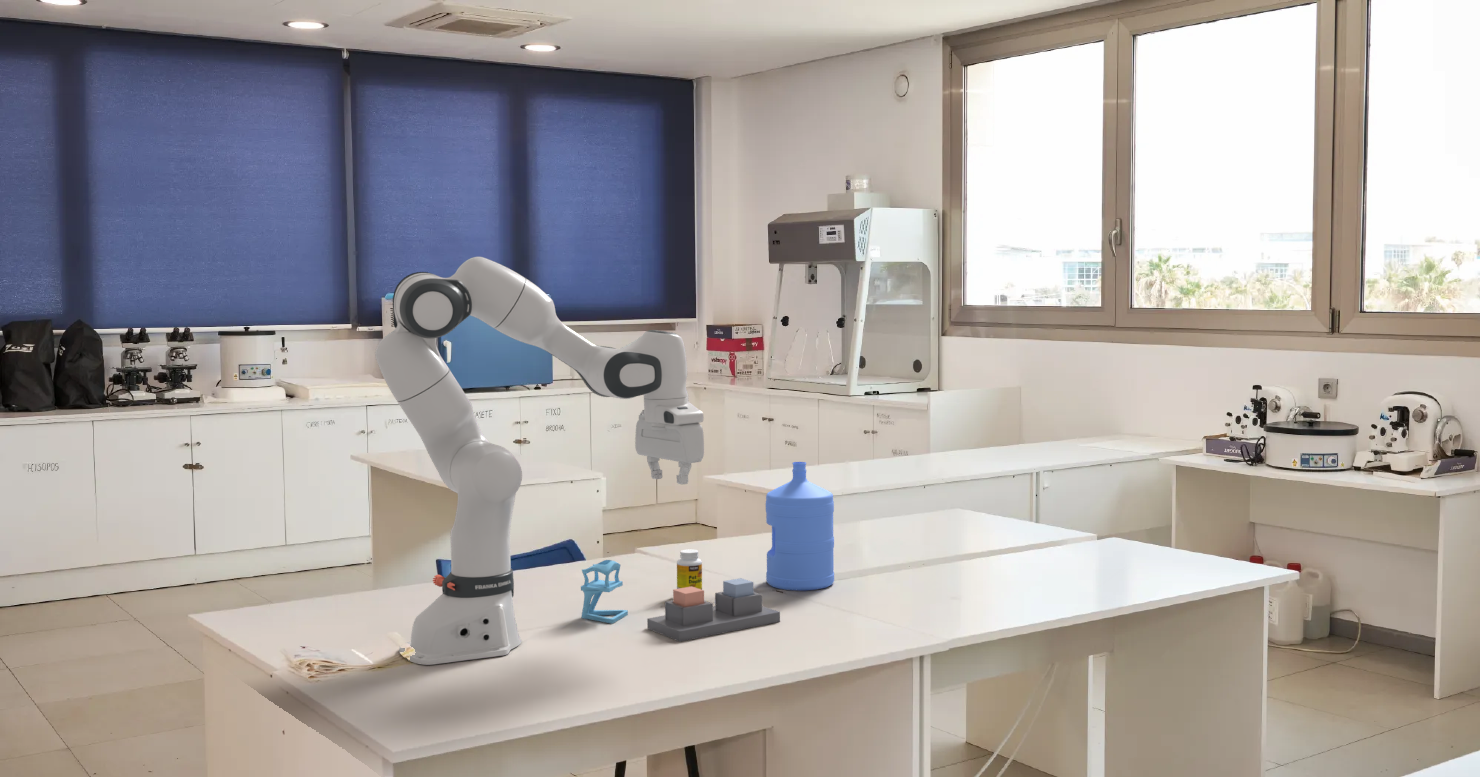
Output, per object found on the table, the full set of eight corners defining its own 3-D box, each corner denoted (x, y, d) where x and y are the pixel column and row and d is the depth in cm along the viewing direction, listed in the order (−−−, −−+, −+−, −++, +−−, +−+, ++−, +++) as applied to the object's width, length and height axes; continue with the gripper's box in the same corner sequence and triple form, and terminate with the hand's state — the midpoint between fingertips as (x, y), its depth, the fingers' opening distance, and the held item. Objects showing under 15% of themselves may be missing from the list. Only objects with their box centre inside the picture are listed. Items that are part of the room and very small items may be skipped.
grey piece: (679, 641, 232) (679, 613, 232) (647, 628, 242) (647, 601, 242) (780, 621, 246) (779, 594, 246) (745, 609, 256) (745, 584, 255)
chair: (592, 612, 256) (591, 555, 255) (628, 614, 253) (627, 557, 252) (575, 621, 249) (574, 563, 248) (612, 623, 246) (611, 565, 245)
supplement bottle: (688, 601, 264) (687, 554, 263) (671, 596, 268) (671, 551, 267) (707, 596, 268) (707, 550, 267) (690, 592, 272) (690, 547, 271)
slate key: (735, 599, 244) (735, 585, 244) (723, 595, 248) (723, 581, 248) (753, 596, 247) (753, 581, 246) (741, 592, 250) (740, 578, 250)
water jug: (846, 580, 282) (845, 460, 280) (813, 594, 269) (812, 468, 267) (787, 573, 290) (786, 456, 288) (753, 586, 277) (752, 464, 275)
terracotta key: (685, 608, 237) (685, 593, 237) (673, 604, 241) (673, 589, 241) (704, 605, 240) (704, 590, 240) (692, 601, 243) (691, 586, 243)
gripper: (626, 410, 247) (629, 477, 248) (681, 416, 230) (684, 489, 231) (652, 407, 250) (655, 473, 251) (708, 413, 234) (711, 484, 235)
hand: (669, 481), depth 241 cm, fingers open, 8 cm apart
